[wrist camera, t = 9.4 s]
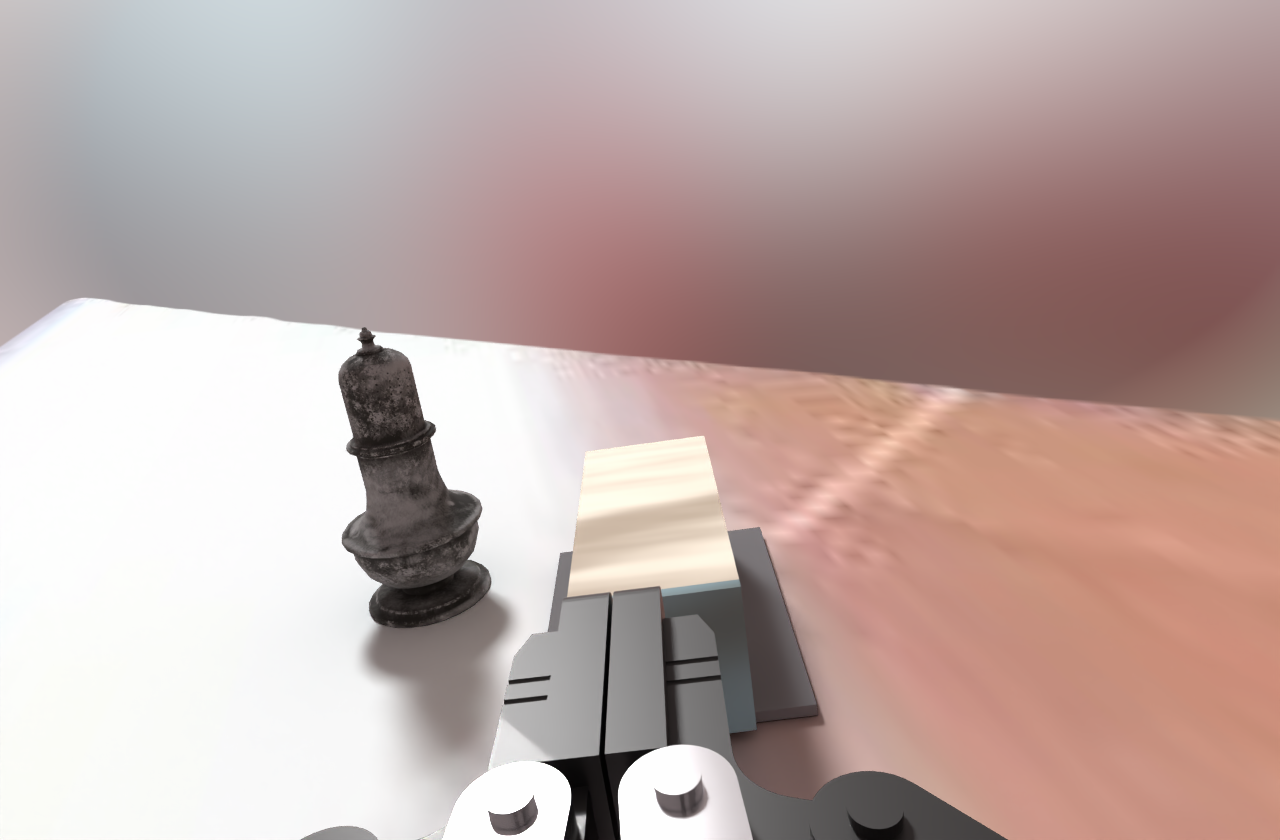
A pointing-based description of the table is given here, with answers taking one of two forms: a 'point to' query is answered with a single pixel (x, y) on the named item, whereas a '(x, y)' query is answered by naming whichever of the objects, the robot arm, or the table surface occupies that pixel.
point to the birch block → (666, 547)
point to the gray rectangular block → (749, 630)
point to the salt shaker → (406, 498)
